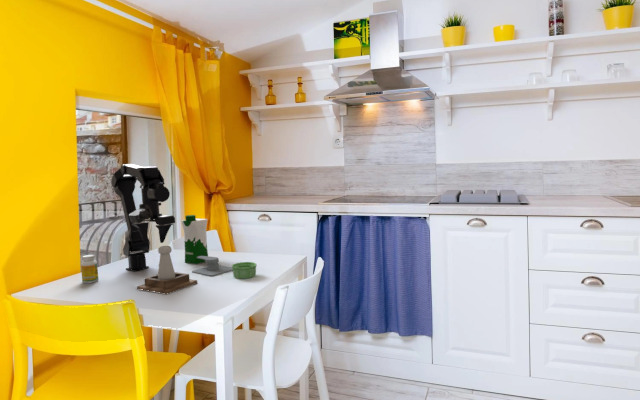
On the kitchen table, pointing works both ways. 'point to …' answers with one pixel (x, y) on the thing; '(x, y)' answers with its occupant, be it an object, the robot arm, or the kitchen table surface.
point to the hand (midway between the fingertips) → (153, 242)
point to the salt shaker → (165, 264)
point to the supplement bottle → (89, 269)
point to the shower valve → (212, 267)
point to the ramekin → (244, 270)
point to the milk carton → (194, 239)
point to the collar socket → (167, 283)
